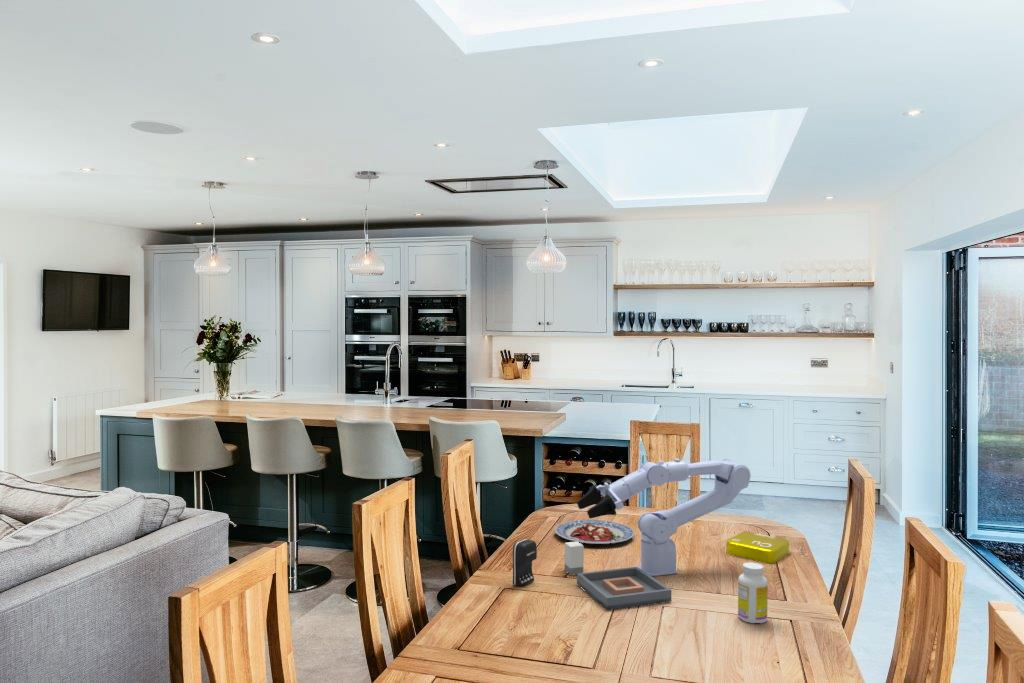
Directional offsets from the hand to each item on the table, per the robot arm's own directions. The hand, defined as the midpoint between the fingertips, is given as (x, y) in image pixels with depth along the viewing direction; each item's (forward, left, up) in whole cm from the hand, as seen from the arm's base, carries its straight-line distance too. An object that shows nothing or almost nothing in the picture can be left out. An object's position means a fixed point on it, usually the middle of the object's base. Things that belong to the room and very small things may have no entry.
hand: (583, 510), depth 197 cm
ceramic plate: (-19, -33, -19) cm, 43 cm away
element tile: (-60, -3, -19) cm, 63 cm away
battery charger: (+17, 0, -19) cm, 25 cm away
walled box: (-5, +14, -19) cm, 24 cm away
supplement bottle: (-27, +38, -19) cm, 50 cm away
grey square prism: (+1, -4, -19) cm, 19 cm away
